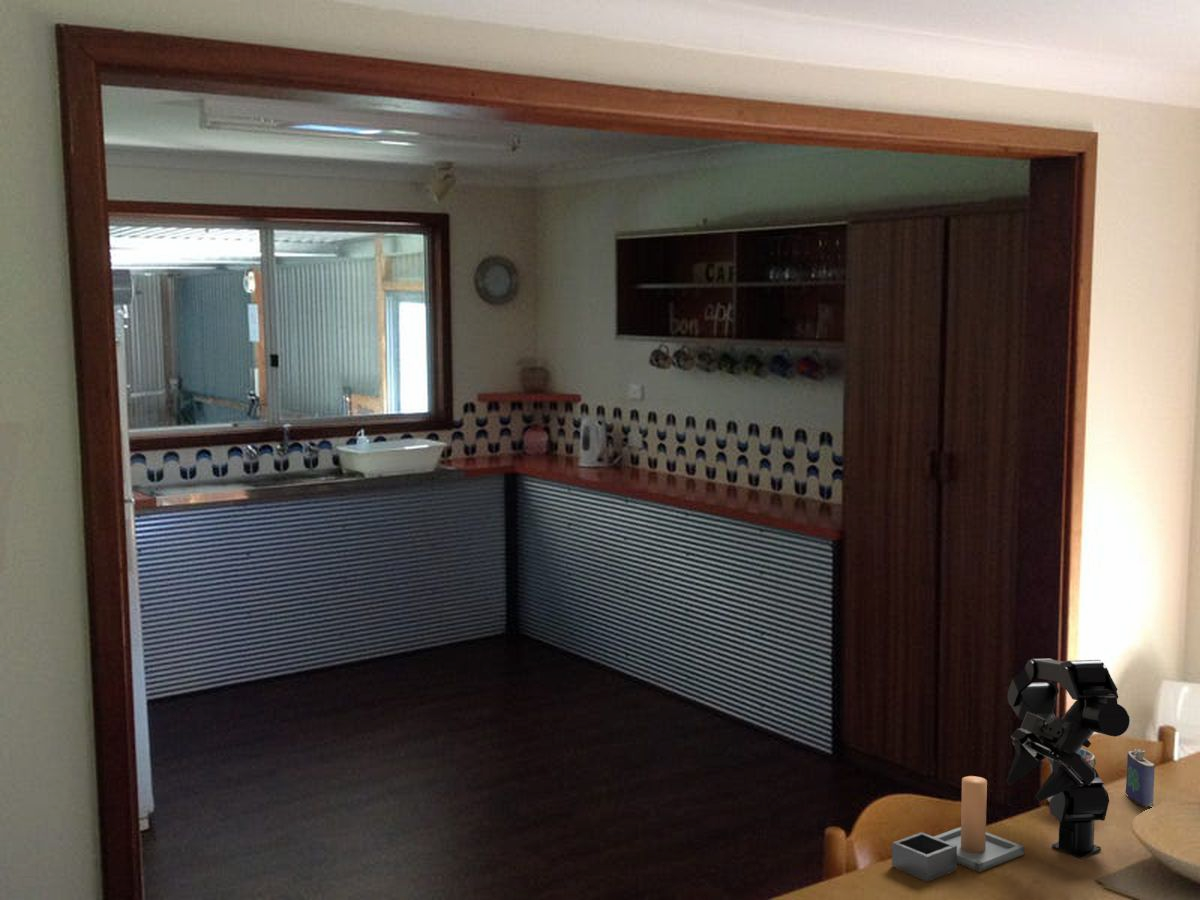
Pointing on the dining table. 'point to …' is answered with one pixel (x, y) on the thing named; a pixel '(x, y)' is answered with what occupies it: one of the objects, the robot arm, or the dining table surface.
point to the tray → (992, 856)
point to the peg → (973, 814)
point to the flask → (1140, 779)
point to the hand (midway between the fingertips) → (1022, 791)
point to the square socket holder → (924, 856)
